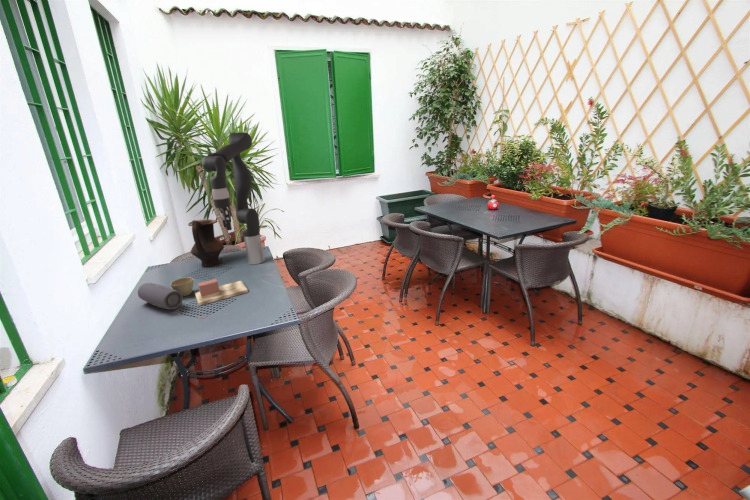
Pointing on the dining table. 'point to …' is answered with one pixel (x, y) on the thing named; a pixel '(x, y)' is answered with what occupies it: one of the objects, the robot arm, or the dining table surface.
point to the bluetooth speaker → (160, 296)
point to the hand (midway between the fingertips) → (227, 228)
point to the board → (223, 292)
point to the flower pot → (183, 285)
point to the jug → (205, 242)
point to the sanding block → (208, 288)
